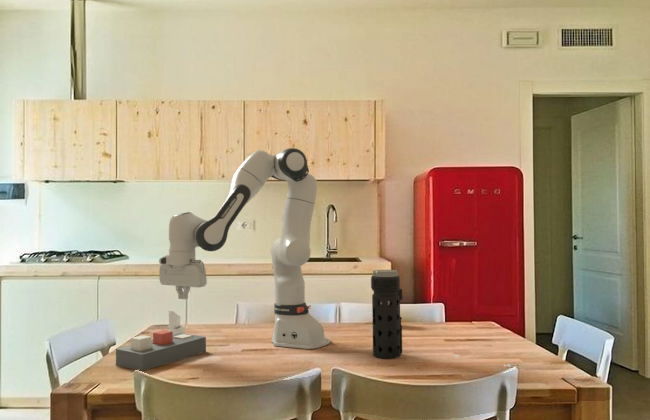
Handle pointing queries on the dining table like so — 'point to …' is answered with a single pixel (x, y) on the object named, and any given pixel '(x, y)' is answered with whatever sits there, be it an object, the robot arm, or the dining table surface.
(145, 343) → the white button left
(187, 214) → the robot arm
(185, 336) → the white button right
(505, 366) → the paper
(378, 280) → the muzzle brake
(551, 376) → the dining table surface
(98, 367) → the dining table surface
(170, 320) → the white angled block
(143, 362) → the button console
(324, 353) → the dining table surface
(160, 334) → the red button
